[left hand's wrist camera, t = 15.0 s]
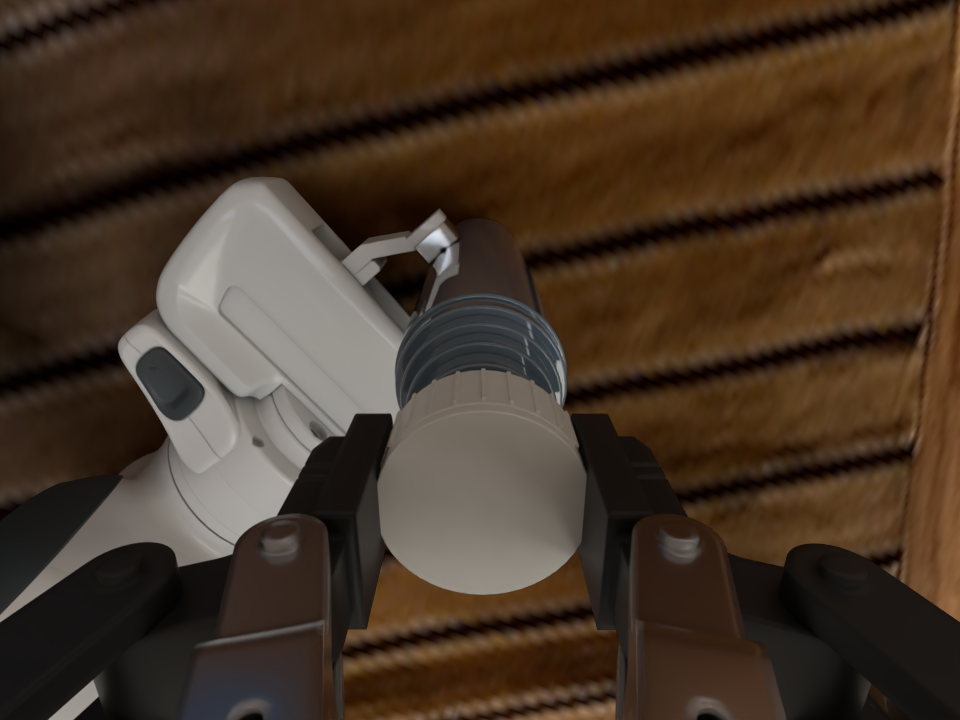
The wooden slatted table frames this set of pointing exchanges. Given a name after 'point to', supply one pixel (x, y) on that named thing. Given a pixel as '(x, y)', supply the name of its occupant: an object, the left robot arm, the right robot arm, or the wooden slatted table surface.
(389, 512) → the cap
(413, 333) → the bottle
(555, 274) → the wooden slatted table surface
